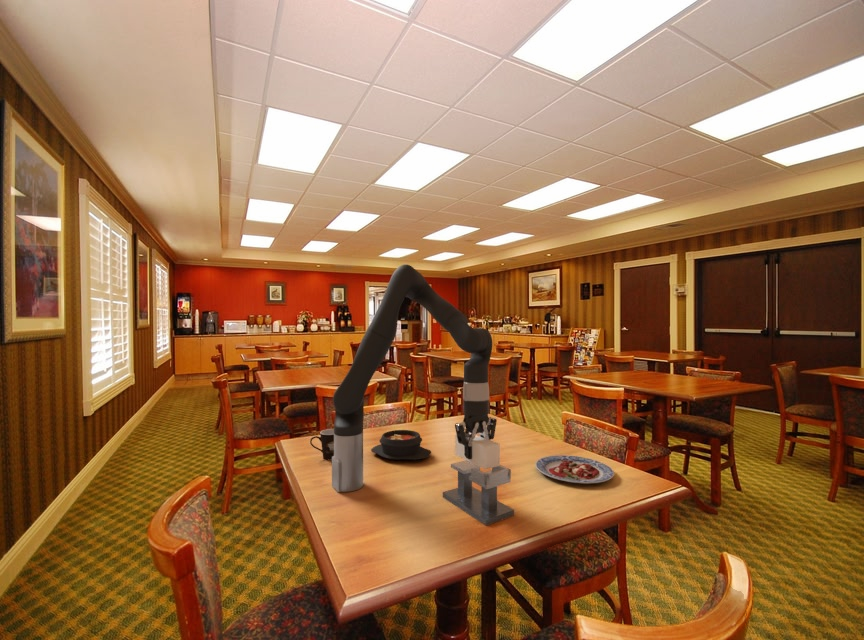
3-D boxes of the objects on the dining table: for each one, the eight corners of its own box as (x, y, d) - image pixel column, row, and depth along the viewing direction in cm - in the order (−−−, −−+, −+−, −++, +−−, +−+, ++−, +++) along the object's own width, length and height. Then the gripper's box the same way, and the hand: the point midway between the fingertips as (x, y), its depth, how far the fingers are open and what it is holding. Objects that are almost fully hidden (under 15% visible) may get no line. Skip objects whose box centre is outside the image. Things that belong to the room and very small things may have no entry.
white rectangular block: (485, 469, 106) (485, 447, 106) (455, 454, 117) (455, 434, 117) (499, 465, 108) (499, 443, 108) (468, 451, 120) (468, 432, 120)
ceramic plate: (552, 456, 155) (552, 448, 155) (622, 471, 139) (622, 463, 139) (522, 475, 135) (522, 467, 135) (600, 496, 119) (600, 486, 119)
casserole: (439, 453, 158) (439, 432, 158) (416, 468, 142) (416, 445, 142) (387, 444, 170) (387, 425, 170) (361, 458, 153) (361, 436, 154)
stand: (485, 525, 102) (485, 477, 102) (442, 497, 118) (442, 455, 118) (514, 515, 107) (513, 469, 107) (468, 489, 124) (468, 449, 124)
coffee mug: (345, 453, 158) (345, 429, 158) (338, 461, 149) (338, 435, 150) (317, 453, 159) (317, 428, 159) (309, 460, 151) (309, 434, 151)
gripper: (486, 393, 120) (487, 448, 120) (448, 398, 112) (448, 457, 112) (503, 396, 114) (504, 455, 114) (464, 402, 106) (464, 465, 106)
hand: (476, 456), depth 113 cm, fingers closed on white rectangular block, 5 cm apart
